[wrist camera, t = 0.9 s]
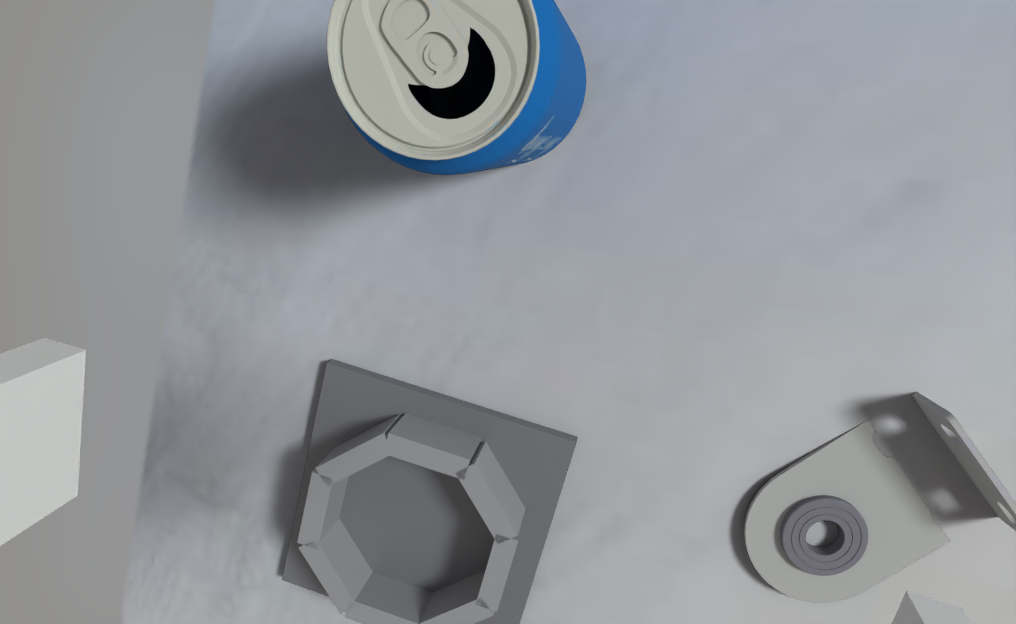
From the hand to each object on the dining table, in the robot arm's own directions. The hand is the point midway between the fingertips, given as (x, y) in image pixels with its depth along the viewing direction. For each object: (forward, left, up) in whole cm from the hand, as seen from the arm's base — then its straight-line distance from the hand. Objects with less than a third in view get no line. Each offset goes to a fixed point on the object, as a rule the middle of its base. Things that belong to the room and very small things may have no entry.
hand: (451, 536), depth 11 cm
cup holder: (+13, -4, -21) cm, 25 cm away
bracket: (+6, +15, -22) cm, 27 cm away
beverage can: (-7, -5, -21) cm, 23 cm away
